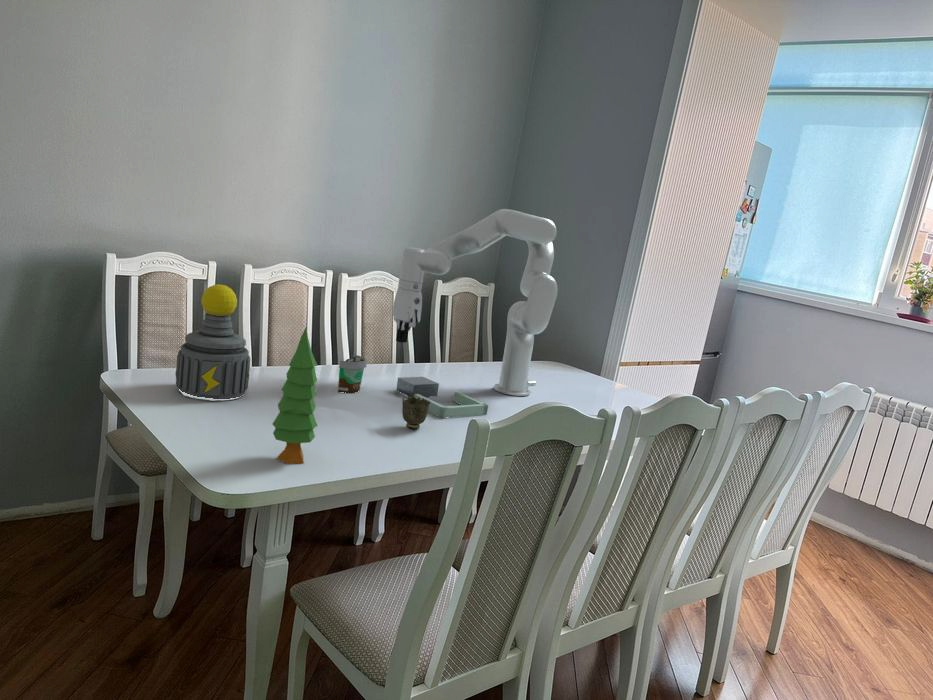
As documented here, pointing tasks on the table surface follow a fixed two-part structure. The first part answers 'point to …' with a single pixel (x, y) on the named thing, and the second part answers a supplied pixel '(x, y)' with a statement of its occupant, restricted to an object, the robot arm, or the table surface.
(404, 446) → the table surface
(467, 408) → the bay
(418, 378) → the gray rectangular block
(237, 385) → the decorative lamp
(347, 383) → the food container
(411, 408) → the cup
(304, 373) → the decorative tree
